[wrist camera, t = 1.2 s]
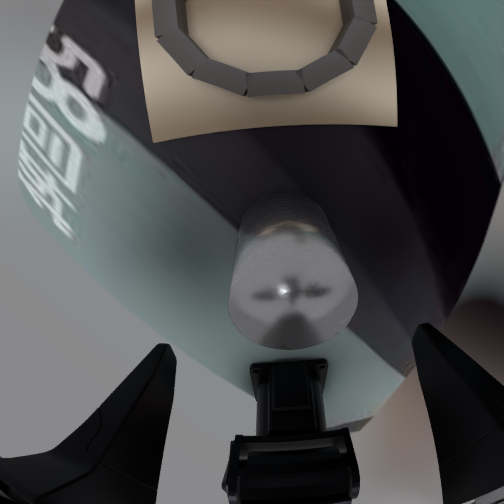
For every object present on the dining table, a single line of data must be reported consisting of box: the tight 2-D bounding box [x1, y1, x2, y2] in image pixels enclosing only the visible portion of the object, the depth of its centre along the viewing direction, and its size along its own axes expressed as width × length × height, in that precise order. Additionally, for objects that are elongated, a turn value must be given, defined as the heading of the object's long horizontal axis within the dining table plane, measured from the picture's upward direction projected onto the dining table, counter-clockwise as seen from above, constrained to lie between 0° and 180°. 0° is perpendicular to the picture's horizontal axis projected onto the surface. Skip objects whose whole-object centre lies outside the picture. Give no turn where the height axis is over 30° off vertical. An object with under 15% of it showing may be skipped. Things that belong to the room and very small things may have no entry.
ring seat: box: [135, 0, 397, 143], centre depth 8 cm, size 12×12×2 cm
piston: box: [228, 191, 358, 350], centre depth 13 cm, size 5×5×6 cm
